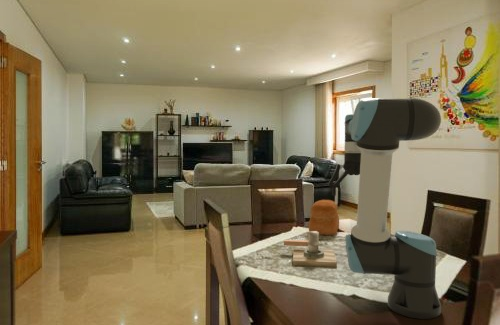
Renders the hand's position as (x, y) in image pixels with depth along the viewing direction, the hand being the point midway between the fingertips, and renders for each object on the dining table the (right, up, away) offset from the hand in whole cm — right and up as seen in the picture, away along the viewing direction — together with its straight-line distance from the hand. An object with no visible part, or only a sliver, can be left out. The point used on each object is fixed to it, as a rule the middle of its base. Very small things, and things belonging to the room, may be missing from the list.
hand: (353, 204), depth 156 cm
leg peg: (-15, -23, +10) cm, 29 cm away
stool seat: (-14, -25, +10) cm, 31 cm away
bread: (+1, -23, +66) cm, 69 cm away
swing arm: (-19, -21, +19) cm, 34 cm away
